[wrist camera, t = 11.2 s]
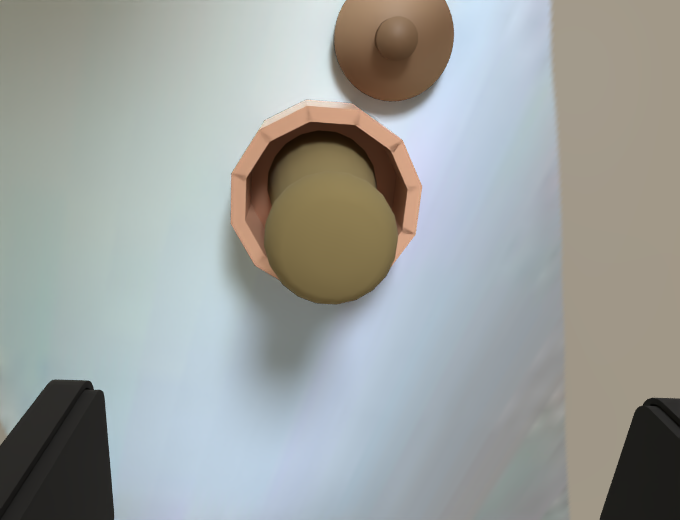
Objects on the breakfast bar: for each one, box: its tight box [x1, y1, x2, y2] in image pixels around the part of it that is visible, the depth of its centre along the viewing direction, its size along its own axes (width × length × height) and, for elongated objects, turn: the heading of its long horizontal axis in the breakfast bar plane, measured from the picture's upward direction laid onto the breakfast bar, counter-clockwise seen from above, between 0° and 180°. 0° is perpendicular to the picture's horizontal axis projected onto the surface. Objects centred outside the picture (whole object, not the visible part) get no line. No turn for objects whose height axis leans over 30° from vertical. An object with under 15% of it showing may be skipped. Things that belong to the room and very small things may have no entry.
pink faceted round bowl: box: [231, 100, 422, 280], centre depth 28 cm, size 9×9×4 cm
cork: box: [264, 130, 398, 304], centre depth 24 cm, size 6×6×11 cm
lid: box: [334, 0, 454, 101], centre depth 27 cm, size 6×6×2 cm
